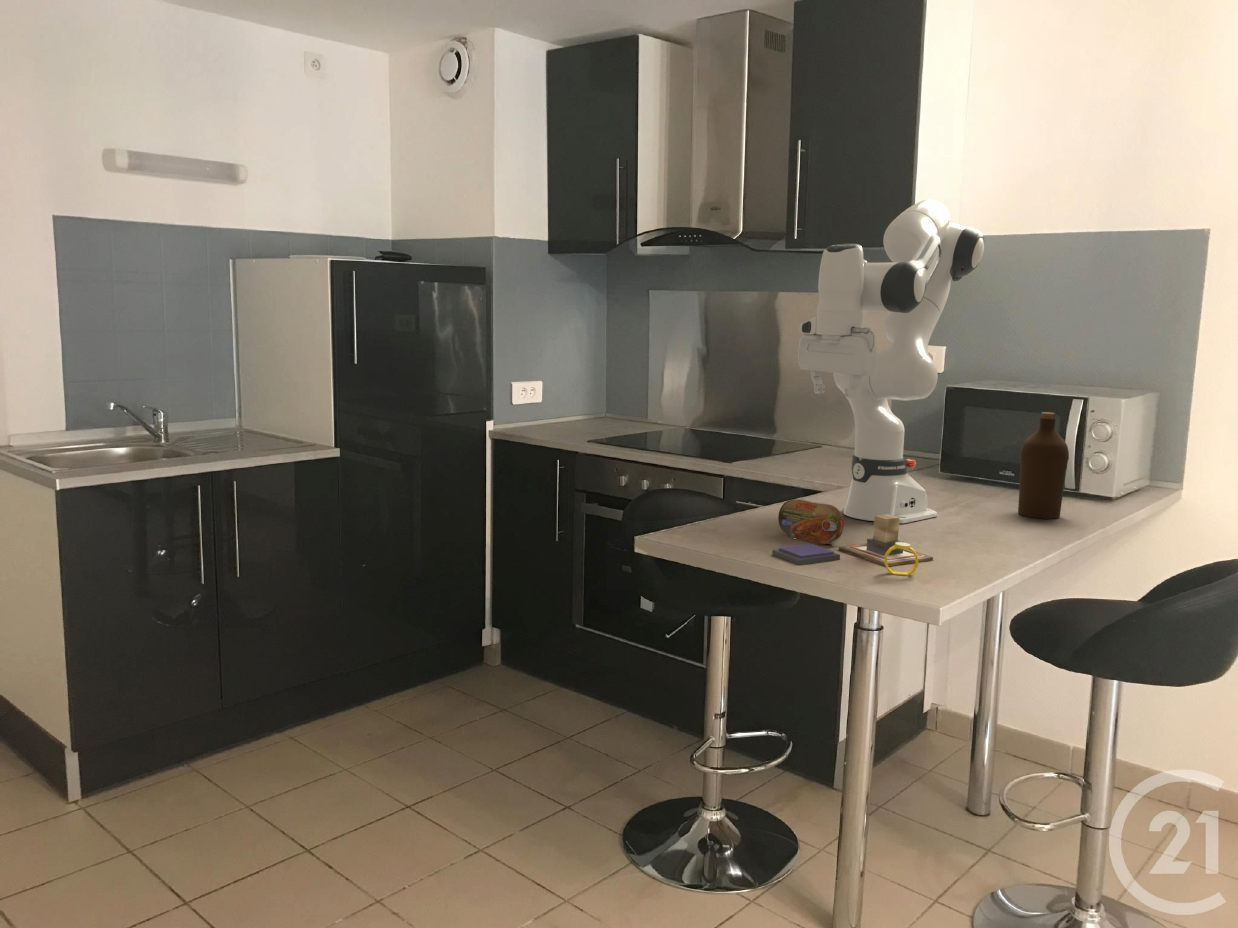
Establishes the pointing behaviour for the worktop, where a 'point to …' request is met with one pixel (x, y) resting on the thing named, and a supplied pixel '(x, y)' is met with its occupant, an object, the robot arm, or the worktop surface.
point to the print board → (878, 558)
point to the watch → (901, 546)
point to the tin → (810, 521)
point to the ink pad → (805, 554)
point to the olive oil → (1043, 471)
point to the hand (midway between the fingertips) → (834, 395)
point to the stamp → (884, 535)
